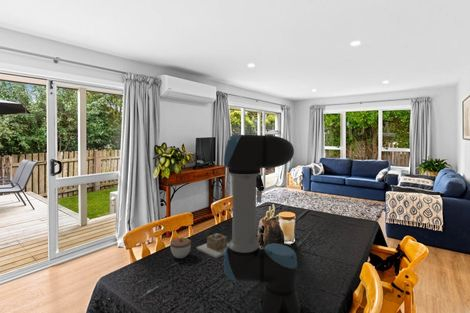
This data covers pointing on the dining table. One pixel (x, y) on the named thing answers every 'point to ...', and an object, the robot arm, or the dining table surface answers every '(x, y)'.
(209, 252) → the post block
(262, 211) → the dining table surface
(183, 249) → the lidded jar
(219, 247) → the collar
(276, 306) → the robot arm
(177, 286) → the dining table surface
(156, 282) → the dining table surface
